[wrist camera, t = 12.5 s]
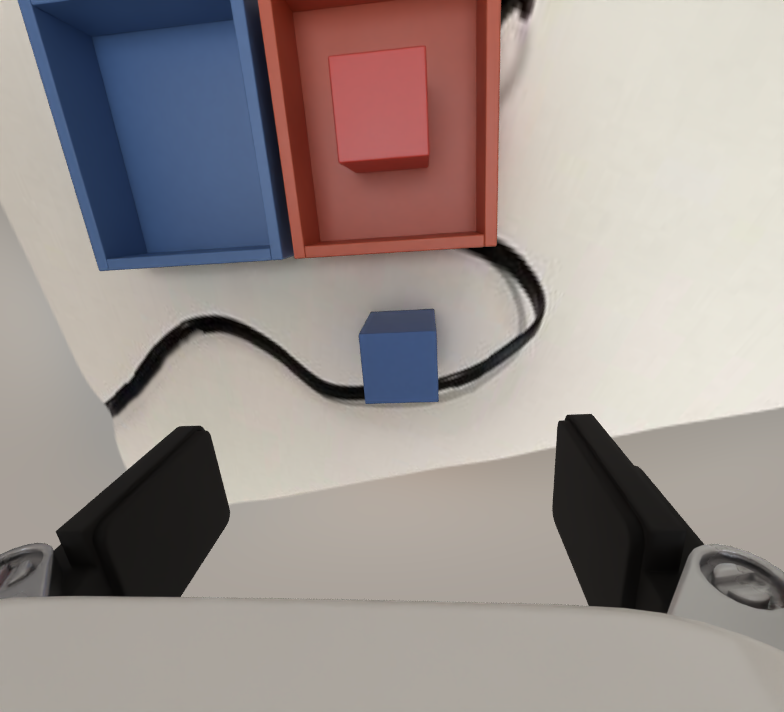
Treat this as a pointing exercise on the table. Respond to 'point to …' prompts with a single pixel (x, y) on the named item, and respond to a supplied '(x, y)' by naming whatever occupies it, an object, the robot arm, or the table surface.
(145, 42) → the blue bin
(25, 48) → the table surface
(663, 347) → the table surface
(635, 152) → the table surface
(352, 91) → the red block
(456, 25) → the red bin
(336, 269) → the table surface
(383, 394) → the blue block
